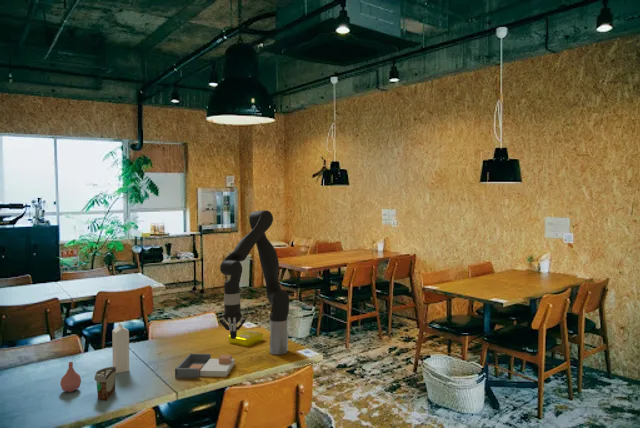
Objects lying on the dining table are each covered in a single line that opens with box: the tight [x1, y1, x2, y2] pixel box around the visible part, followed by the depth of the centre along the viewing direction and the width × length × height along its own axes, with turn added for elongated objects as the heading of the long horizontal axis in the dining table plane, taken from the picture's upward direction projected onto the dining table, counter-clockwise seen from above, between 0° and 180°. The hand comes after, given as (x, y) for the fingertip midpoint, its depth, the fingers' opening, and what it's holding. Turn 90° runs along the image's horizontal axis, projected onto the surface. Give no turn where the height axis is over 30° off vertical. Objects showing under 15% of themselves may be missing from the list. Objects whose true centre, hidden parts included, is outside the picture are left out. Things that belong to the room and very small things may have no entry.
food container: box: [93, 366, 117, 401], centre depth 192 cm, size 12×6×10 cm, turn 5°
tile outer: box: [190, 364, 203, 374], centre depth 218 cm, size 5×5×2 cm
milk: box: [111, 322, 130, 374], centre depth 220 cm, size 6×6×22 cm
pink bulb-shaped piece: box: [59, 361, 82, 393], centre depth 197 cm, size 8×8×12 cm
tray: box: [174, 352, 212, 379], centre depth 222 cm, size 10×21×4 cm, turn 177°
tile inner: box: [218, 354, 233, 364], centre depth 226 cm, size 5×5×2 cm
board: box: [199, 358, 235, 378], centre depth 222 cm, size 12×16×2 cm
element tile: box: [227, 329, 264, 347], centre depth 267 cm, size 15×15×5 cm
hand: (233, 338), depth 224 cm, fingers closed
